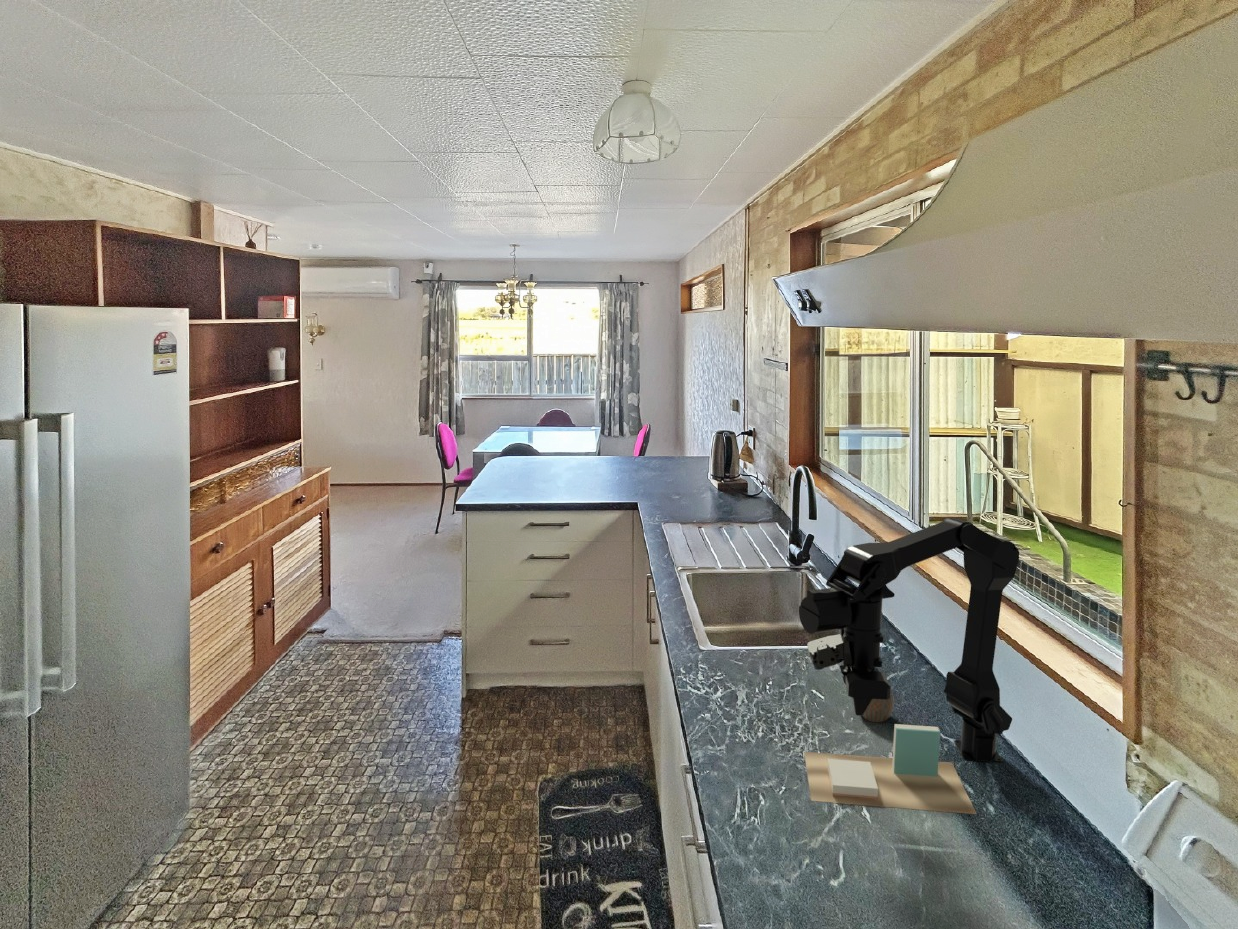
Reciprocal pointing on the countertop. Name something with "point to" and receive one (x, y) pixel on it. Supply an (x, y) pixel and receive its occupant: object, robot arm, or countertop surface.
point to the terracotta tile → (852, 778)
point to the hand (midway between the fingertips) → (858, 714)
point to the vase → (879, 709)
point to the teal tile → (916, 750)
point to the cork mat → (893, 786)
